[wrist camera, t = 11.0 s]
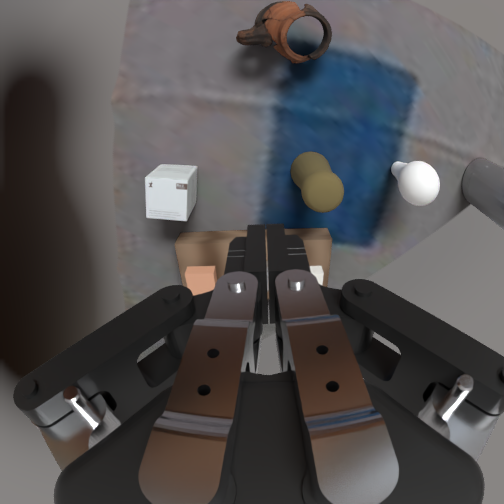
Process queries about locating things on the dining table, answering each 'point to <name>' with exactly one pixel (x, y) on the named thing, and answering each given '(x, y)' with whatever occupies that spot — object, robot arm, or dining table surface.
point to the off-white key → (317, 273)
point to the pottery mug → (283, 29)
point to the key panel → (217, 242)
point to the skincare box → (171, 192)
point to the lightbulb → (416, 182)
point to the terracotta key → (200, 278)
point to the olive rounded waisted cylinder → (317, 182)
